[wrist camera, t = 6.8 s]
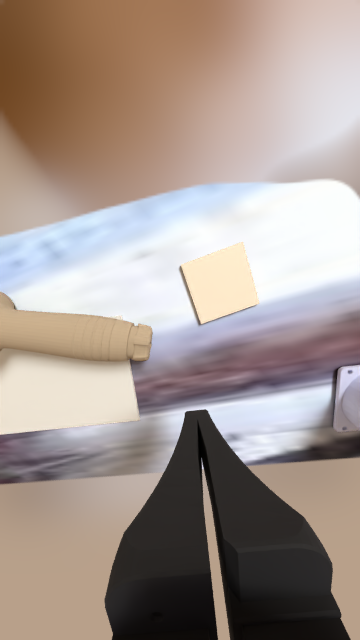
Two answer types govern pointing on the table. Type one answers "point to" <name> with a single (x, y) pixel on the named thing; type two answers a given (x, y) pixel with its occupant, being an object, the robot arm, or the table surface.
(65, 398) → the felt mat
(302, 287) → the table surface
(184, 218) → the table surface
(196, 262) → the beige tile
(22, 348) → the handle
